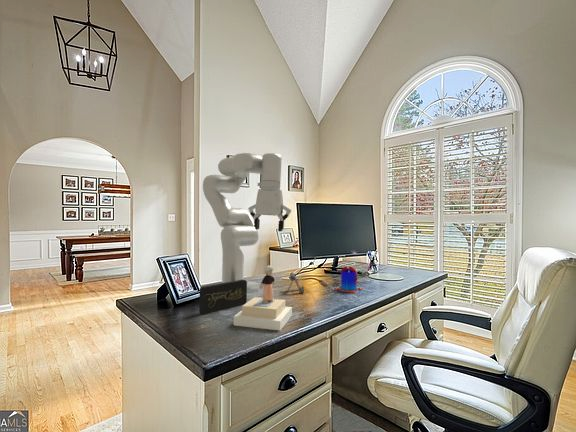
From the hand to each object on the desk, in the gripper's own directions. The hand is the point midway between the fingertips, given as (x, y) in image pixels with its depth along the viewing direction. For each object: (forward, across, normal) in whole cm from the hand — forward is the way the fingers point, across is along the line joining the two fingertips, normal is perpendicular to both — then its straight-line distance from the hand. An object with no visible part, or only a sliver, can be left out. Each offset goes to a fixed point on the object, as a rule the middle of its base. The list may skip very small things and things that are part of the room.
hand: (268, 230), depth 122 cm
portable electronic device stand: (+32, +4, +31) cm, 45 cm away
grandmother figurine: (+24, +5, -11) cm, 27 cm away
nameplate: (+32, -15, -5) cm, 35 cm away
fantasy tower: (+31, +28, +44) cm, 61 cm away
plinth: (+30, +4, -13) cm, 33 cm away
